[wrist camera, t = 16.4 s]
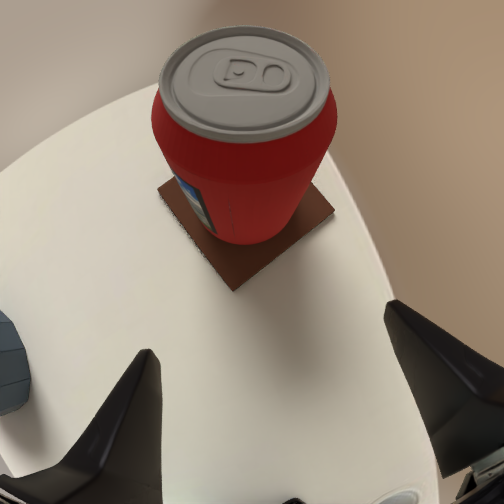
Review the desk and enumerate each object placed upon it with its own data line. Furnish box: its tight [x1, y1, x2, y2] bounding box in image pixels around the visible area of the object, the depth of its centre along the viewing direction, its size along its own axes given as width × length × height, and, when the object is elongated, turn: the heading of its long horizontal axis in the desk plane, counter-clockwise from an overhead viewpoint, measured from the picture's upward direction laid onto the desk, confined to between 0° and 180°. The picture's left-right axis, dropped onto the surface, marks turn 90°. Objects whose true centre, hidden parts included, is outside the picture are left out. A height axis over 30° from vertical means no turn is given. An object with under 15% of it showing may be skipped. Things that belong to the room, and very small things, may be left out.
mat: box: [157, 176, 335, 291], centre depth 19 cm, size 9×9×1 cm
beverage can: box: [151, 25, 337, 245], centre depth 13 cm, size 7×7×12 cm
